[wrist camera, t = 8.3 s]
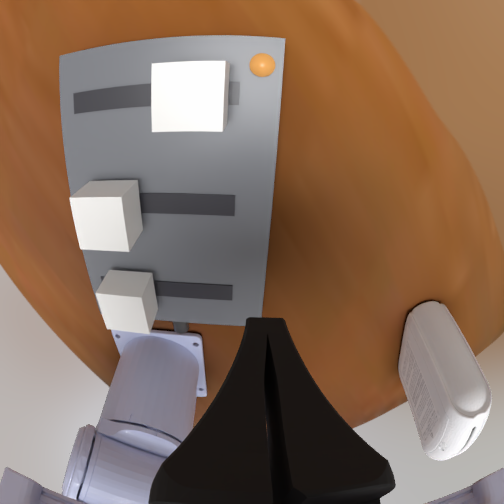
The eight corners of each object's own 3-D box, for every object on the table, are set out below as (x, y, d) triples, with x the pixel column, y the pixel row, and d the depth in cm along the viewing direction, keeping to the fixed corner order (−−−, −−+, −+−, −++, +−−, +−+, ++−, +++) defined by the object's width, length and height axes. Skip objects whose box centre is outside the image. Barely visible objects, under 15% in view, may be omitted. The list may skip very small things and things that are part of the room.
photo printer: (429, 363, 28) (465, 459, 18) (393, 374, 29) (424, 476, 18) (446, 293, 23) (511, 409, 12) (403, 305, 23) (459, 434, 13)
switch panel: (258, 326, 24) (258, 347, 22) (114, 314, 24) (105, 334, 22) (281, 42, 14) (286, 37, 12) (77, 55, 13) (56, 56, 11)
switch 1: (158, 308, 20) (149, 334, 18) (118, 304, 20) (107, 328, 18) (152, 272, 19) (141, 297, 17) (109, 269, 19) (95, 293, 17)
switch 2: (227, 123, 14) (222, 131, 12) (166, 123, 14) (151, 132, 12) (230, 63, 12) (225, 60, 10) (166, 65, 12) (151, 63, 10)
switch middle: (142, 229, 17) (129, 252, 15) (97, 228, 17) (80, 249, 15) (137, 179, 15) (121, 197, 13) (90, 181, 15) (69, 197, 13)
